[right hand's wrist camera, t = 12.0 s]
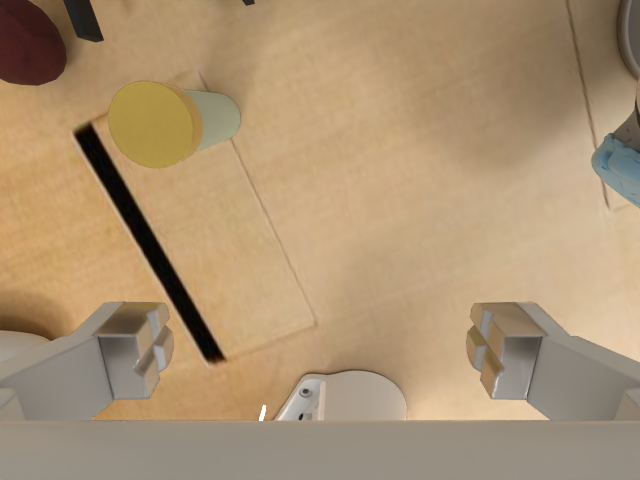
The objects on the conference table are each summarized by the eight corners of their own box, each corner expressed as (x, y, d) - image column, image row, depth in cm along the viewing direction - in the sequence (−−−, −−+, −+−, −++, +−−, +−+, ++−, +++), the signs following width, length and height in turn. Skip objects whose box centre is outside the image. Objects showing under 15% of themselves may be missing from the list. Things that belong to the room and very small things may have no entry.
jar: (233, 88, 39) (177, 77, 23) (246, 135, 40) (200, 155, 25) (189, 98, 39) (103, 94, 23) (202, 145, 40) (131, 170, 25)
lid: (189, 75, 25) (177, 72, 23) (213, 154, 26) (203, 159, 24) (114, 92, 25) (94, 91, 23) (142, 169, 27) (126, 175, 25)
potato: (21, -16, 35) (-48, -44, 29) (96, 42, 37) (48, 29, 30) (-11, 51, 37) (-82, 40, 31) (62, 104, 39) (9, 104, 32)
